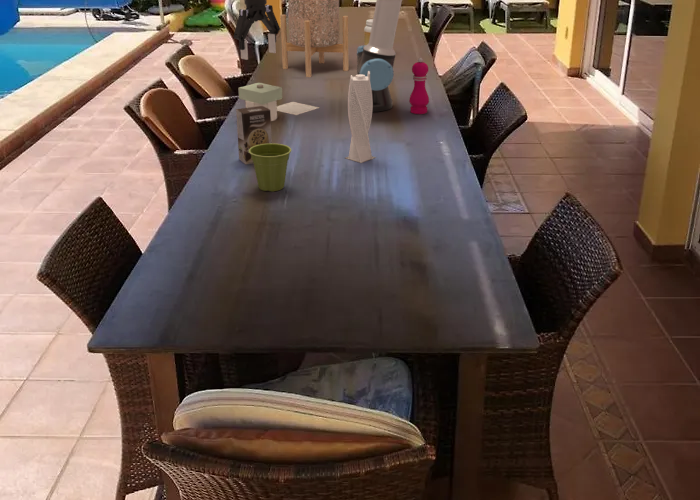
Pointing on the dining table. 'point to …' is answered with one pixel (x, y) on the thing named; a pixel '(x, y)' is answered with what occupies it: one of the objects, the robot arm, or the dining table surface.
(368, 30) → the supplement tub
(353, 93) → the skyscraper
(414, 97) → the pepper mill
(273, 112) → the bowl
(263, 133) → the coffee box
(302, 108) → the mat
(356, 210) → the dining table surface
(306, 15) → the planter
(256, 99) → the lid
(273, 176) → the plant pot
